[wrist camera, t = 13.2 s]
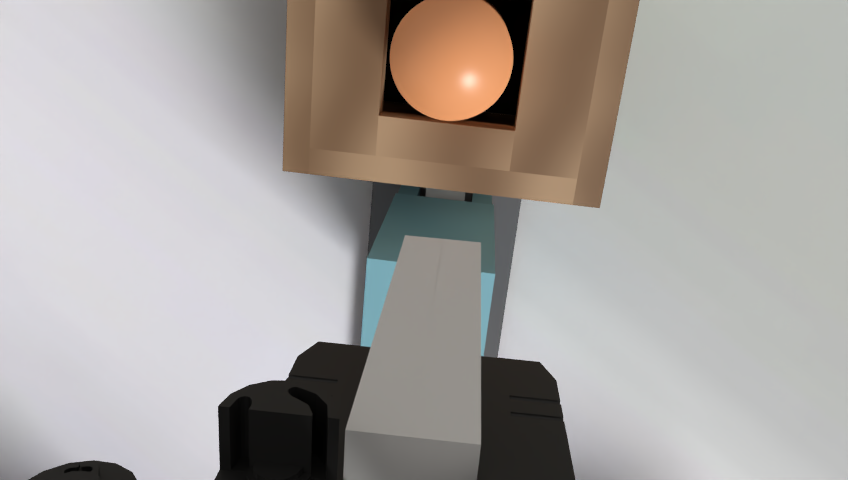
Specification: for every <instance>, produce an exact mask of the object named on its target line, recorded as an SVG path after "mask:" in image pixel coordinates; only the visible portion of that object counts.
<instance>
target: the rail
mask: <svg viewBox="0 0 848 480" xmlns="http://www.w3.org/2000/svg"><path fill="white" fill-rule="evenodd" d="M400 187H401V185H399V184H391V183H382V182H374V181H373V191H372V204H371V218H370V232H369V245H368V255H369V253H370V250H371V248H372V246H373V243H374V241H375V239H376V237H377V234H378V232H379V230H380V228H381V225H382V223H383V221H384V219H385V216H386V214H387V212H388V210H389V207H390V205H391V203H392V200H393V198H394V196H395V194H396V193H398V192H399V189H400ZM420 196H424V197H432V198H441V199H449V200H458V201H466V202H472V196H473V193H467V192H459V191H450V190H442V189H433V188H425V187H421V188H420ZM520 204H521V199H518V198H510V197H501V196H493V195H492V205H494V234H495V279H494V286H493V293H492V300H491V307H490V314H489V321H488V328H487V335H486V342H485V349H484V356H486V357H495V358H497V356H498V349H499V343H500V336H501V330H502V323H503V316H504V310H505V303H506V296H507V290H508V283H509V276H510V270H511V263H512V257H513V250H514V243H515V237H516V230H517V223H518V217H519V210H520Z"/></svg>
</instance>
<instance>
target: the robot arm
mask: <svg viewBox="0 0 848 480" xmlns="http://www.w3.org/2000/svg"><path fill="white" fill-rule="evenodd" d="M218 417H219V453H220V470H219V472H218V474H217V476H216V478H215V480H575V476H574V471H573V465H572V460H571V455H570V450H569V445H568V439H567V434H566V429H565V424H564V422H563V413H562V408H561V405H560V398H559V393H558V387H557V382H556V380H555V379H554V378H553V376H552V375H551V374H550V373H549V372H548V371H547V370H546V369H545V367H544V366H543V365H542V364H541V363H540V362H534V361H524V360H515V359H505V358H495V357H486V356H481V242H471V241H460V240H450V239H439V238H429V237H418V236H408V235H405V237H404V240H403V244H402V247H401V250H400V253H399V257H398V260H397V263H396V266H395V270H394V273H393V276H392V279H391V283H390V286H389V289H388V292H387V296H386V299H385V302H384V305H383V309H382V312H381V315H380V318H379V322H378V325H377V328H376V331H375V335H374V338H373V341H372V344H371V347H366V346H356V345H346V344H337V343H327V342H317V343H316V344H315V345H313V346H312V347H310V348H309V349H307V350H306V351H305V352H303V353H302V354H300V355H299V356H298V357H297V359H296V361H295V363H294V365H293V367H292V369H291V371H290V373H289V377H288V378H287V379H286V381H267V382H262V383H257V384H252V385H248V386H246V387H244V388H242V389H240V390H238V391H236V392H234V393H232V394H230V395H229V396H228V397H227V398H226V399H225V400H224V401H223V402H222V403H221V404H220V405H219V406H218ZM29 480H136V478H135V476H134V474H133V473H132V472H131V471H129V470H127V469H125V468H123V467H122V466H120V465H118V464H115V463H108V462H101V461H84V462H75V463H68V464H64V465H61V466H58V467H55V468H52V469H49V470H46V471H43V472H41V473H39V474H38V475H36V476H34V477H32V478H31V479H29Z"/></svg>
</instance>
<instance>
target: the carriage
mask: <svg viewBox="0 0 848 480" xmlns="http://www.w3.org/2000/svg"><path fill="white" fill-rule="evenodd" d="M420 188H421V187H416V186H408V185H401V187H400V189H399V192H398V193H396V194H395V196H394V198H393V200H392V203H391V205H390V207H389V210H388V212H387V214H386V216H385V219H384V221H383V223H382V225H381V228H380V230H379V232H378V234H377V237H376V239H375V241H374V243H373V246H372V248H371V250H370V253H369V255H368V257H367V265H366V279H365V292H364V306H363V320H362V333H361V346H366V347H371V344H372V341H373V338H374V335H375V331H376V328H377V325H378V322H379V318H380V315H381V312H382V309H383V305H384V302H385V299H386V296H387V292H388V289H389V286H390V283H391V279H392V276H393V273H394V270H395V266H396V263H397V260H398V257H399V253H400V250H401V247H402V244H403V240H404V237H405V235H408V236H418V237H429V238H439V239H450V240H460V241H471V242H481V356H484V349H485V342H486V335H487V328H488V321H489V314H490V307H491V300H492V293H493V286H494V279H495V234H494V205H492V195H484V194H476V193H473V196H472V202H466V201H458V200H449V199H441V198H432V197H424V196H420Z"/></svg>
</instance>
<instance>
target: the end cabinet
mask: <svg viewBox="0 0 848 480" xmlns="http://www.w3.org/2000/svg"><path fill="white" fill-rule="evenodd" d="M639 1H640V0H532V4H531V11H530V18H529V25H528V32H527V40H526V47H525V54H524V61H523V68H522V75H521V82H520V89H519V96H518V103H517V110H516V115H508V114H499V113H490V112H482V113H480V114H478V115H476V116H474V117H471V118H468V119H464V120H458V121H444V120H439V119H435V118H431V117H429V116H426V115H424V114H422V113H421V112H419V111H417V110H416V109H415V108H413V107H412V106H411V105H410V104H409V103H401V102H392V101H383V97H384V84H385V70H386V57H387V44H388V31H389V17H390V4H391V0H287V29H286V66H285V103H284V140H283V171H288V172H297V173H305V174H314V175H322V176H331V177H339V178H348V179H356V180H365V181H374V182H382V183H391V184H399V185H408V186H416V187H425V188H433V189H442V190H450V191H459V192H467V193H476V194H484V195H493V196H501V197H510V198H518V199H527V200H535V201H544V202H552V203H561V204H570V205H578V206H587V207H595V208H600V203H601V198H602V193H603V188H604V183H605V177H606V172H607V167H608V162H609V157H610V151H611V146H612V141H613V136H614V131H615V125H616V120H617V115H618V110H619V105H620V99H621V94H622V89H623V84H624V79H625V73H626V68H627V63H628V58H629V53H630V47H631V42H632V37H633V32H634V27H635V21H636V16H637V11H638V6H639Z"/></svg>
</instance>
